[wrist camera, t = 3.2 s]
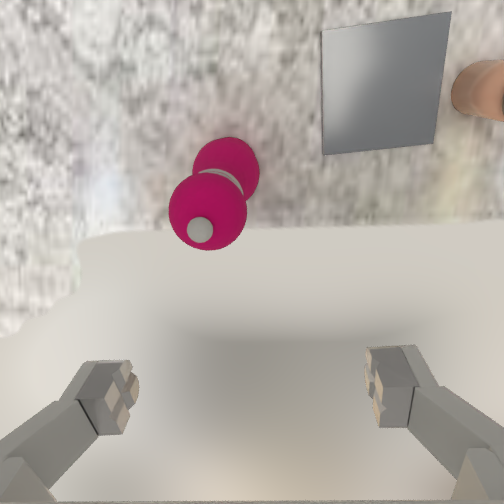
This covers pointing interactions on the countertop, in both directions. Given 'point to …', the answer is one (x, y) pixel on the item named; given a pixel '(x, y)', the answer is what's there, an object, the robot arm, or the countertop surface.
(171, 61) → the countertop surface
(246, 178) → the pepper mill
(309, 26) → the countertop surface
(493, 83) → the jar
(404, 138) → the pad
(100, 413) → the robot arm
